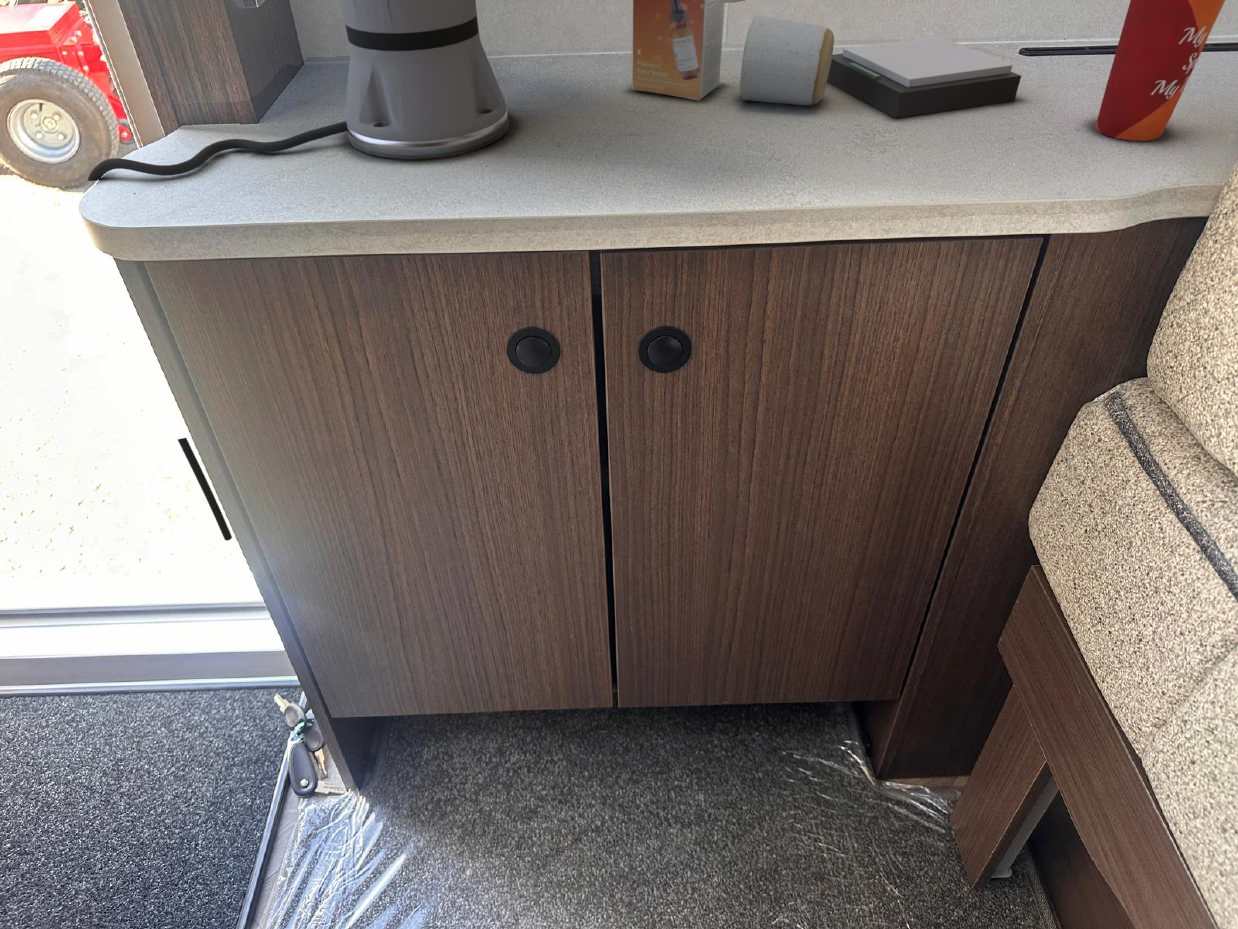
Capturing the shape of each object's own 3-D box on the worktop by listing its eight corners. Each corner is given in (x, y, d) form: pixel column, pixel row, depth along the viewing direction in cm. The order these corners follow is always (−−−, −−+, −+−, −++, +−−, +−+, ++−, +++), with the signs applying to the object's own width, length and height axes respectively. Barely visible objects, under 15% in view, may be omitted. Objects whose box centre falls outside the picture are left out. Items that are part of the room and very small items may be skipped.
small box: (631, 91, 89) (630, -21, 82) (653, 77, 93) (654, -32, 86) (700, 101, 86) (705, -15, 79) (720, 86, 90) (727, -26, 83)
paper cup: (1170, 150, 73) (1244, -32, 64) (1076, 136, 77) (1134, -40, 67) (1179, 124, 78) (1249, -49, 69) (1090, 111, 82) (1147, -56, 72)
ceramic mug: (818, 116, 82) (830, 29, 77) (736, 109, 84) (742, 24, 79) (831, 86, 90) (843, 5, 85) (755, 80, 92) (762, 1, 87)
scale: (895, 118, 81) (902, 83, 79) (822, 78, 91) (826, 47, 89) (1014, 100, 84) (1024, 66, 82) (931, 64, 95) (937, 33, 92)
